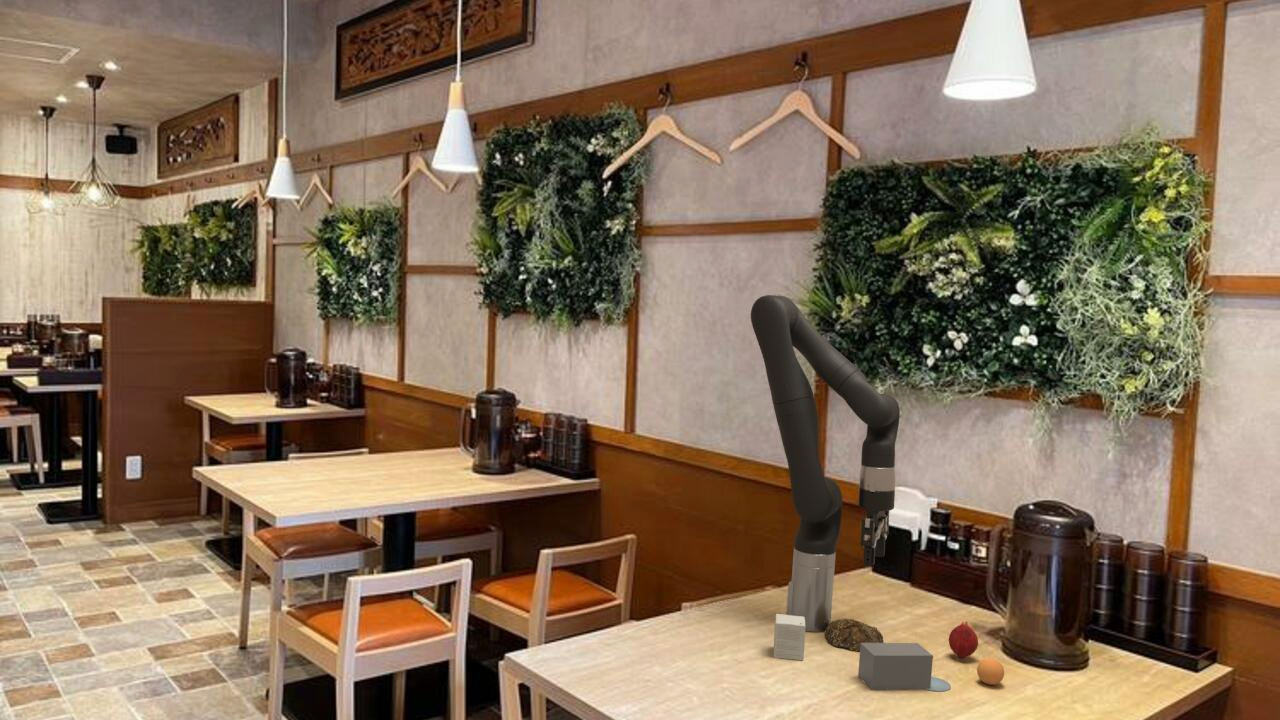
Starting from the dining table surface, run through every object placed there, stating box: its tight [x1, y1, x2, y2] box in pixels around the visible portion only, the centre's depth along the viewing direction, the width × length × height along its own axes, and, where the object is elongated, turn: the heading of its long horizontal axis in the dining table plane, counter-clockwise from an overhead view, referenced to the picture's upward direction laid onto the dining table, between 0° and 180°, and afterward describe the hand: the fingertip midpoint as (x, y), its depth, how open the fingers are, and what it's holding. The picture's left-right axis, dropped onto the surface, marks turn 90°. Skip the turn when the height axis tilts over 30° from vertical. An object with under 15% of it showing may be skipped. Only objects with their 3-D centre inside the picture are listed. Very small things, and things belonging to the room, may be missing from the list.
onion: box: [948, 619, 979, 659], centre depth 199 cm, size 6×6×8 cm
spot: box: [926, 676, 952, 693], centre depth 185 cm, size 7×7×1 cm
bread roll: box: [824, 618, 885, 653], centre depth 206 cm, size 13×12×5 cm
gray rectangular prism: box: [857, 642, 934, 691], centre depth 184 cm, size 12×7×7 cm, turn 99°
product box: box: [773, 613, 806, 661], centre depth 196 cm, size 6×6×7 cm
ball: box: [976, 657, 1005, 686], centre depth 187 cm, size 5×5×5 cm
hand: (874, 560), depth 208 cm, fingers open, 8 cm apart
